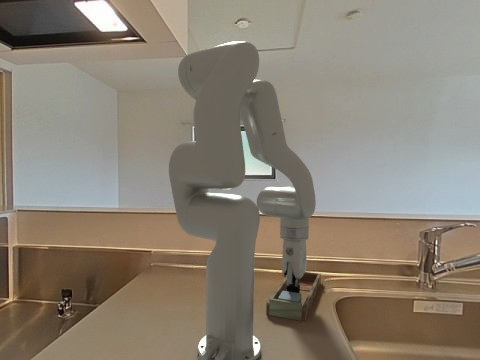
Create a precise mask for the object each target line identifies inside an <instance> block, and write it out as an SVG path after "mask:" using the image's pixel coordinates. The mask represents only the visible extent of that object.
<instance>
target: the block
mask: <svg viewBox="0 0 480 360" xmlns="http://www.w3.org/2000/svg"><path fill="white" fill-rule="evenodd" d="M278 299H279V300H285V301H291V302H297V303H302V293H301V292H300V293H295V292H288V291H287V290H286V291H282V293H281V294H280V296H279V297H278Z"/></svg>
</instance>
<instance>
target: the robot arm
mask: <svg viewBox="0 0 480 360" xmlns="http://www.w3.org/2000/svg"><path fill="white" fill-rule="evenodd" d="M259 68H260V55H259V51H258V49H257V47H256V46H255V45H254V44H253V43H252V42H249V41H244V40H243V41H231V42H227V43H224V44H219V45H217V46H212V47H209V48H205V49H201V50H198V51H195V52H191V53H189V54H187V55H185V56H184V57H182V59H181V60H180V62H179V64H178V68H177V74H178V79H179V82H180V85H181V86H182V88H183V89H184V90H185V92H186V93H187V94H188V95H189V96H190V97H191V98H193V100H195V103H194V107H193V125H194V135H195V140H191V141H185V142H182V143H180V144H179V145H177V146H176V147H175V148H174V149H173V151H172V153H171V154H170V155H171V156H170V158H169V162H168V176H169V182H170V188H171V194H172V198H173V204H174V208H175V209H174V210H175V214H176V217H177V222H178V224H179V226H180V228H181V229H182V231H183V232H184V233H186V234H187V235H189V236H191V237H192V236H193V237H196V238H200V239H206V240H211V241H214V242H215V244H214V247H213V249H212V250H211V252H210V254H209V256H208V258H207V261H206V264H205V265H206V267H205V278H206V279H205V280H206V281H205V285H206V286H205V288H206V289H205V290H206V292H205V336H203V338H201V339H200V341H199V343H198V345H197V353H198V357H197V360H258V358H259V357H260V356H261V351H262V350H261V349H262V347H261V342H260V341H259V339H258V338H257V337H256V336H255V335H254V303H255V302H254V300H255V298H254V295H255V294H254V292H255V291H254V289H255V288H254V287H255V279H254V278H255V255H256V254H255V251H256V243H257V238H258V232H259V228H260V220H261V219H260V218H261V214H262V215H265V216H267V217H272V218H279V219H280V220H279V221H280V222H279V226H280V227H279V238H280V240H281V239H282V241H283V242H282V253H281V254H282V258H281V259H282V260H281V275H282V276H283V278H285V277H286V276H287V290H286V291H288V292H295V293H301V292H300V291H301V290H300V285H298V284H300V279H301V278H302V276H303V275H304V273H305V272H307V268H308V267H307V266H308V263H307V261H308V259H307V240H309V234H310V233H309V232H310V231H309V229H310V228H309V226H310V225H309V223H310V220H309V219H310V218H311V217H312V216H313V215H314V213H315V211H316V205H317V204H316V203H317V201H316V193H315V187H314V181H313V177H312V173H311V172H310V170H309V169H308V167H307V165H306V164H305V163H304V162H303V161H304V160H302V159H301V158H300V156H299V155H297V153H296V152H295V151H293V149H291V148H290V147H289V146H288V143H287V140H286V134H285V130H284V125H283V121H282V114H281V110H280V105H279V100H278V96H277V95H278V94H277V90H276V88H275V87H274V85H273V83H271V82H270V81H267V80H263V79H256V77H257V75H258V73H259ZM241 122H242V124H243V128H244V131H245V135H246V136H245V137H246V140H247V143H248V148H249V151H250V154H251V156H252V157H253V158H254V159H256V160H258V161H259V162H262V163H264V164H265V165H267V166H269V167H271V168H273V169H275V170H277V171H279V172H280V173H281V174H283V175H284V176H285V177H286V178H287V179H288V180H289V181H290V182H291V184H292V185H289V186H288V185H287V186H282V187H281V186H280V187H279V186H268V187H265V188H264V189H262V190H260V192H259V193H258V194H257V196H256V203H255V201H253V200H252V199H250V198H249V197H247V196H243V195H241V194H240V195H239V194H234V193H233V194H231V193H220V192H219V193H214V192H209V190H220V191H221V190H233V189H235V188H236V189H237V188H238V187H239V186H241V185H242V183H243V182H244V181H245V179H246V178H245V176H246V162H245V161H246V160H245V152H244V151H245V150H244V144H243V136H242V130H241V129H242V128H241ZM260 213H261V214H260Z"/></svg>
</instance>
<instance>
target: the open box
mask: <svg viewBox="0 0 480 360" xmlns="http://www.w3.org/2000/svg"><path fill="white" fill-rule="evenodd" d="M321 282H322V274H321V273H319V272H318V273H317V272H310V271H305V273H304V275H303V276H302V278H301V279H300V284H298V285H300V291H306V292H308V295H307V297H305V301H304V303H303V302H301V303H297V302H291V301H285V300H279V299H278V297H279V296H280V294H281V293H282V291H287V275H286V277H284V279H283V280H282V282H281V283H280V284H279V285H278V287H277V288H276V289H275V291H274V292H273V294H272V295H271V296H270V298H268V300H267V301H266V306H265V307H266V313H265V315H267V316H271V317H273V316H274V317H278V318H284V319H289V320H293V321H300V322H306V319H307V318H308V315H309V312H310V309H311V307H312V305H313V302H314V300H315V298H316V295H317V293H318V290H319V288H320V285H321V284H322V283H321Z"/></svg>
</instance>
